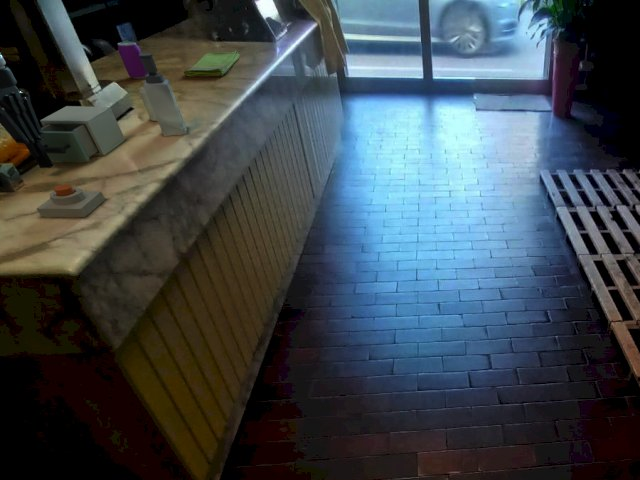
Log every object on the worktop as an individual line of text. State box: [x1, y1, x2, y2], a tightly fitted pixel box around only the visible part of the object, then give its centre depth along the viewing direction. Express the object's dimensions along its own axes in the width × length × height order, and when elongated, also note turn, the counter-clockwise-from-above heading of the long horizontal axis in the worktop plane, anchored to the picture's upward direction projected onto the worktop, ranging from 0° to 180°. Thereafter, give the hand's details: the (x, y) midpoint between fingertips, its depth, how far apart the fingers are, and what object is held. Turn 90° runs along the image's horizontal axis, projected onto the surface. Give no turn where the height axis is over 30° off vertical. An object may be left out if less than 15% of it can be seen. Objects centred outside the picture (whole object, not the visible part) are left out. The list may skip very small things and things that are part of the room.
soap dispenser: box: [139, 52, 187, 137], centre depth 162 cm, size 6×9×22 cm
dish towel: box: [183, 50, 240, 78], centre depth 228 cm, size 15×36×3 cm, turn 10°
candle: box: [138, 85, 158, 122], centre depth 174 cm, size 6×6×10 cm
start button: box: [53, 183, 75, 196], centre depth 125 cm, size 4×4×2 cm
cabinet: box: [39, 105, 126, 157], centre depth 153 cm, size 14×13×10 cm
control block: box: [36, 186, 106, 218], centre depth 126 cm, size 10×10×4 cm
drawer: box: [40, 124, 99, 163], centre depth 146 cm, size 17×11×8 cm
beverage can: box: [117, 41, 148, 80], centre depth 209 cm, size 8×8×12 cm
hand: (46, 166), depth 139 cm, fingers closed
